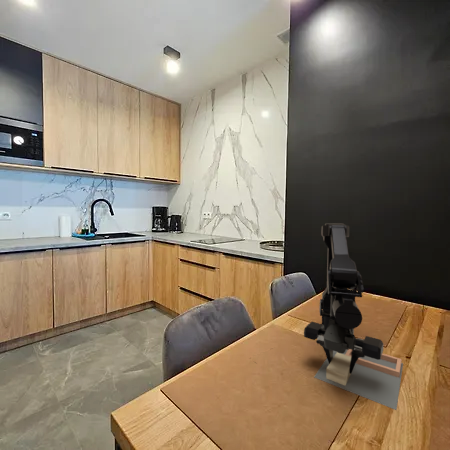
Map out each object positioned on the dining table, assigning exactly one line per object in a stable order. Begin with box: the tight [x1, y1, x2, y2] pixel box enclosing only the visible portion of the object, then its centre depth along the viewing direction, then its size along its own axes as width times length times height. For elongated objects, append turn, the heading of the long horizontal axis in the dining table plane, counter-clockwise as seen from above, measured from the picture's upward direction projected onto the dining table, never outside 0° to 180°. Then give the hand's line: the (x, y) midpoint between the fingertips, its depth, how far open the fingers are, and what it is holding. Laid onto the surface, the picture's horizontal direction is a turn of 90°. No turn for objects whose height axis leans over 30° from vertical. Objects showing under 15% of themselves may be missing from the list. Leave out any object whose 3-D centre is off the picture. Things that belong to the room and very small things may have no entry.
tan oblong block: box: [326, 352, 351, 385], centre depth 69 cm, size 10×5×3 cm, turn 142°
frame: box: [345, 349, 402, 377], centre depth 74 cm, size 13×8×1 cm, turn 52°
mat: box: [313, 350, 404, 411], centre depth 70 cm, size 18×22×1 cm
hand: (340, 369), depth 69 cm, fingers closed on tan oblong block, 5 cm apart
